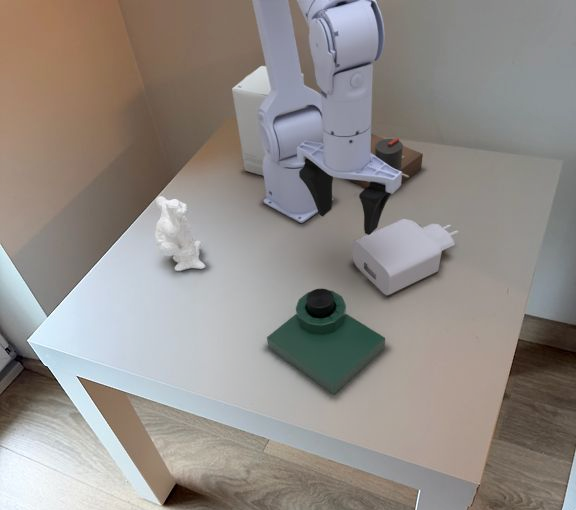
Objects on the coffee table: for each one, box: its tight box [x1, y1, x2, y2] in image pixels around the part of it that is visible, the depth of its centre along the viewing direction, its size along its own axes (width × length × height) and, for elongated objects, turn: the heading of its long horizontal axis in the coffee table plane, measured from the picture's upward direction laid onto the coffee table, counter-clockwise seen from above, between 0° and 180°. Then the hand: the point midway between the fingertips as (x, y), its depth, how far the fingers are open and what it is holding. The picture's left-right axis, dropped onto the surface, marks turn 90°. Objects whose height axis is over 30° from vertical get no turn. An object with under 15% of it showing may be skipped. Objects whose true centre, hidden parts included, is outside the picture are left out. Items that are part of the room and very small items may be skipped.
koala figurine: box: [154, 195, 206, 272], centre depth 81 cm, size 8×7×12 cm
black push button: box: [306, 287, 334, 319], centre depth 71 cm, size 4×4×2 cm
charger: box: [352, 218, 459, 296], centre depth 79 cm, size 5×9×15 cm
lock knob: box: [375, 137, 404, 171], centre depth 89 cm, size 4×4×4 cm
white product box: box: [231, 65, 307, 177], centre depth 94 cm, size 9×9×15 cm
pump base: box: [266, 289, 386, 395], centre depth 71 cm, size 12×11×4 cm
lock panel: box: [346, 133, 424, 189], centre depth 93 cm, size 14×11×3 cm
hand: (347, 221), depth 74 cm, fingers open, 7 cm apart
